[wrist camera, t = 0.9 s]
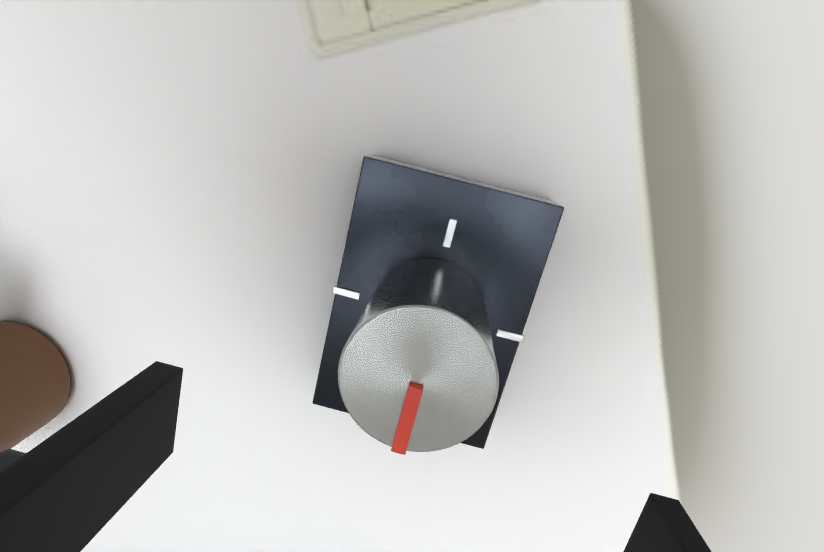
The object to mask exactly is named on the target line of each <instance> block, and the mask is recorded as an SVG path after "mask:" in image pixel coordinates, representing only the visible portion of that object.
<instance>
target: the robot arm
mask: <svg viewBox="0 0 824 552" xmlns="http://www.w3.org/2000/svg"><path fill="white" fill-rule="evenodd" d="M182 373H183V368H180V367H176V366H173V365H169V364H165V363H161V362H157V361H156V362H155V363H153V364H152V365H150V366H149V367H148V368H146V369H145V370H143V371H142V372H141V373H139V374H138V375H136V376H135V377H133V378H132V379H131V380H129V381H128V382H126V383H125V384H124V385H122V386H121V387H119V388H118V389H117V390H115V391H114V392H112V393H111V394H109V395H108V396H107V397H105V398H104V399H102V400H101V401H100V402H98V403H97V404H95V405H94V406H93V407H91V408H90V409H88V410H87V411H86V412H84V413H83V414H81V415H80V416H78V417H77V418H76V419H74V420H73V421H71V422H70V423H69V424H67V425H66V426H64V427H63V428H62V429H60V430H59V431H57V432H56V433H55V434H53V435H52V436H50V437H49V438H47V439H46V440H45V441H43V442H42V443H40V444H39V445H38V446H36V447H35V448H33V449H32V450H31V451H29V452H28V453H23V452H19V451H15V450H12V449H7V450H5V451H2V452H0V552H80V551H81V550H82V549H83V548H84V547H85V546H86V545H87V544H88V543H89V542H90V541H91V539H92V538H93V537H94V536H95V535H96V534H97V533H98V532H99V531H100V530H101V529H102V528H103V527H104V526H105V524H106V523H107V522H108V521H109V520H110V519H111V518H112V517H113V516H114V515H115V514H116V513H117V512H118V510H119V509H120V508H121V507H122V506H123V505H124V504H125V503H126V502H127V501H128V500H129V499H130V498H131V497H132V495H133V494H134V493H135V492H136V491H137V490H138V489H139V488H140V487H141V486H142V485H143V484H144V483H145V482H146V480H147V479H148V478H149V477H150V476H151V475H152V474H153V473H154V472H155V471H156V470H157V469H158V468H159V466H160V465H161V464H162V463H163V462H164V461H165V460H166V459H167V458H168V457H169V456H170V455H171V454H172V453H173V447H174V439H175V431H176V423H177V414H178V406H179V398H180V390H181V382H182ZM624 552H711V550H710V549H709V547H708V546H707V544H706V543H705V541H704V540H703V538H702V536H701V535H700V533H699V532H698V530H697V529H696V527H695V525H694V524H693V522H692V521H691V519H690V518H689V516H688V514H687V513H686V511H685V510H684V508H683V507H682V505H681V504H680V502H679V500H675V499H672V498H668V497H664V496H660V495H657V494H653V493H650V495H649V497H648V500H647V502H646V504H645V506H644V508H643V510H642V513H641V515H640V517H639V519H638V521H637V524H636V526H635V528H634V530H633V532H632V534H631V537H630V539H629V541H628V543H627V545H626V547H625V550H624Z"/></svg>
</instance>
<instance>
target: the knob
mask: <svg viewBox="0 0 824 552" xmlns="http://www.w3.org/2000/svg"><path fill="white" fill-rule="evenodd" d="M338 383H339V389H340V393H341V397H342V399H343V402H344V404H345V406H346V408H347V410H348V412H349V413H350V415H351V417H352V418H353V419H354V420H355V422H356V423H357V424H358V425H359V426H360V427H361V428H362V429H363V430H364V431H365V432H367V433H368V434H369V435H370V436H372V437H373V438H375V439H377V440H378V441H380V442H382V443H384V444H387V445H389V446H392V449H391V451H392V452H396V453H400V454H404V455H405V454H406V450H407V451H415V452H429V451H437V450H441V449H445V448H449V447H451V446H454V445H456V444H458V443H460V442H462V441H464V440H466V439H467V438H468V437H470V436H471V435H473V434H474V433H475V432H476V431H477V430H478V429H479V428H480V427H481V426H482V425H483V423H484V422H485V421H486V420H487V418H488V417H489V415H490V413H491V412H492V409H493V407H494V405H495V402H496V398H497V394H498V387H499V375H498V368H497V363H496V358H495V353H494V348H493V342H492V337H491V332H490V327H489V321H488V316H487V311H486V306H485V301H484V298H483V295H482V292H481V290H480V288H479V287H478V285H477V284H476V282H475V281H474V280H473V279H472V277H471V276H470V275H469V274H467V273H466V272H465V271H464V270H462V269H461V268H459V267H458V266H456V265H454V264H452V263H450V262H446V261H443V260H439V259H431V258H424V259H416V260H411V261H408V262H405V263H403V264H401V265H399V266H397V267H396V268H394V269H393V270H391V271H390V272H389V273H388V274H387V275H386V276H385V277H384V278H383V279H382V280H381V282H380V283H379V285H378V286H377V288H376V290H375V292H374V294H373V295H372V297H371V299H370V301H369V303H368V304H367V306H366V308H365V310H364V312H363V313H362V315H361V317H360V319H359V321H358V323H357V324H356V326H355V328H354V330H353V332H352V333H351V335H350V337H349V339H348V341H347V342H346V344H345V347H344V349H343V351H342V354H341V357H340V361H339V367H338Z"/></svg>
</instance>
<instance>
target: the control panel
mask: <svg viewBox="0 0 824 552" xmlns="http://www.w3.org/2000/svg"><path fill="white" fill-rule="evenodd" d="M563 210H564V207H563V206H561V205H559V204H557V203H555V202H554V201H552V200H548V199H545V198H541V197H537V196H533V195H529V194H525V193H521V192H517V191H513V190H509V189H505V188H501V187H497V186H494V185H490V184H486V183H482V182H478V181H474V180H470V179H466V178H462V177H458V176H454V175H450V174H447V173H443V172H439V171H435V170H431V169H427V168H423V167H419V166H415V165H411V164H407V163H403V162H400V161H396V160H392V159H388V158H384V157H380V156H376V155H372V156H364V158H363V163H362V168H361V173H360V177H359V182H358V187H357V192H356V196H355V201H354V206H353V211H352V216H351V220H350V225H349V230H348V235H347V240H346V244H345V249H344V254H343V259H342V264H341V268H340V273H339V278H338V283H337V286H334V289H333V293H335V297H334V302H333V307H332V312H331V316H330V321H329V326H328V331H327V336H326V340H325V345H324V350H323V355H322V360H321V364H320V369H319V374H318V379H317V384H316V388H315V393H314V398H313V404H317V405H320V406H324V407H328V408H332V409H335V410H339V411H343V412H347V413H349V412H348V410H347V408H346V406H345V404H344V402H343V399H342V397H341V393H340V389H339V383H338V367H339V361H340V357H341V354H342V351H343V349H344V347H345V344H346V342H347V341H348V339H349V337H350V335H351V333H352V332H353V330H354V328H355V326H356V324H357V323H358V321H359V319H360V317H361V315H362V313H363V312H364V310H365V308H366V306H367V304H368V303H369V301H370V299H371V297H372V295H373V294H374V292H375V290H376V288H377V286H378V285H379V283H380V282H381V280H382V279H383V278H384V277H385V276H386V275H387V274H388V273H389V272H390V271H391V270H393V269H394V268H396V267H397V266H399V265H401V264H403V263H405V262H408V261H411V260H416V259H424V258H431V259H439V260H443V261H446V262H450V263H452V264H454V265H456V266H458V267H459V268H461V269H462V270H464V271H465V272H466V273H467V274H469V275H470V276H471V277H472V279H473V280H474V281H475V282H476V284H477V285H478V287H479V288H480V290H481V292H482V295H483V298H484V301H485V306H486V311H487V316H488V321H489V327H490V332H491V337H492V342H493V348H494V353H495V358H496V363H497V368H498V375H499V387H498V394H497V398H496V402H495V405H494V407H493V409H492V412H491V413H490V415H489V417H488V418H487V420H486V421H485V422H484V423H483V425H482V426H481V427H480V428H479V429H478V430H477V431H476V432H475V433H474V434H473V435H471V436H470V437H468V438H467V439H466V440H464V441H462V442H460V443H463V444H467V445H471V446H474V447H478V448H482V449H483V448H484V446H485V443H486V440H487V437H488V434H489V431H490V428H491V425H492V422H493V419H494V416H495V413H496V410H497V407H498V404H499V401H500V398H501V395H502V392H503V389H504V386H505V383H506V380H507V377H508V374H509V371H510V368H511V365H512V362H513V359H514V356H515V353H516V350H517V347H518V344H519V342H523V339H524V335H522V333H523V330H524V327H525V324H526V321H527V318H528V315H529V312H530V309H531V306H532V303H533V300H534V297H535V294H536V291H537V288H538V285H539V282H540V279H541V276H542V273H543V270H544V267H545V264H546V261H547V258H548V255H549V252H550V249H551V246H552V243H553V240H554V237H555V234H556V231H557V228H558V225H559V222H560V219H561V216H562V213H563Z"/></svg>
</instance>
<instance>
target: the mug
mask: <svg viewBox="0 0 824 552" xmlns="http://www.w3.org/2000/svg"><path fill="white" fill-rule="evenodd" d="M70 385H71V382H70V374H69V370H68V367H67V364H66V362H65V360H64V358H63V356H62V355H61V353H60V352H59V350H58V349H57V348H56V346H55V345H54V344H53V343H52V342H51V341H50V340H49V339H48V338H46V337H45V336H44V335H42V334H41V333H40V332H38V331H36V330H34V329H33V328H31V327H28V326H26V325H23V324H19V323H14V322H8V321H0V452H2V451H5V450H7V449H11V448H12V447H14V446H15V445H16V444H18V443H19V442H21V441H22V440H24V439H25V438H26V437H28V436H29V435H31V434H32V433H34V432H35V431H37V430H38V429H40V428H41V427H43V426H44V425H45V424H47V423H48V422H49V421H51V420H52V419H53V418H54V417H55V416H56V415H57V414H58V413H59V412H60V411H61V410H62V409H63V407H64V406H65V404H66V402H67V399H68V397H69V393H70Z"/></svg>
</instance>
